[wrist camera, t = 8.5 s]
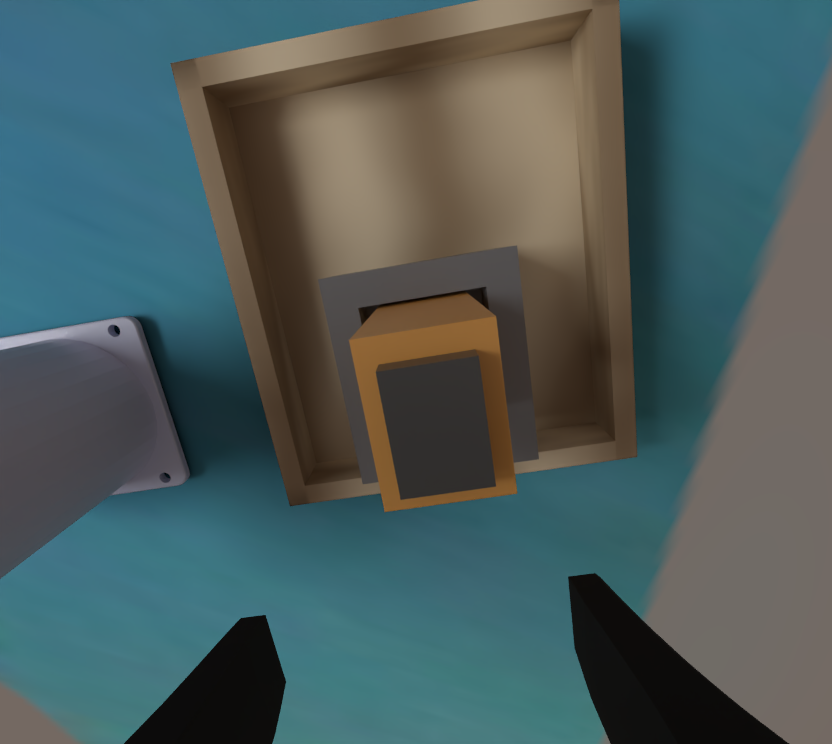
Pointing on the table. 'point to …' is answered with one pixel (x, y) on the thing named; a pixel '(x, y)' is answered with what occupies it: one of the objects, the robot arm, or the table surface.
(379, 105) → the walled box
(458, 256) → the inlet socket
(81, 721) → the table surface
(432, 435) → the plug
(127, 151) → the table surface
